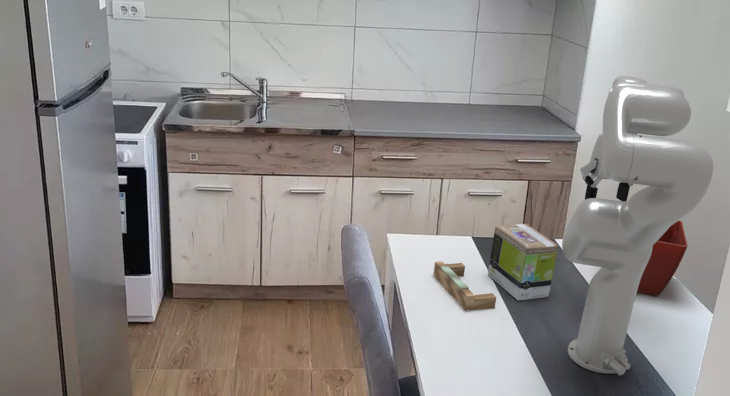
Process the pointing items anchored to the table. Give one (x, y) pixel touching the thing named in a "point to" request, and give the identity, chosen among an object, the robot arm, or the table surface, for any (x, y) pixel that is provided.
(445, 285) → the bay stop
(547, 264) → the tea box
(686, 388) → the table surface
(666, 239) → the plant pot
